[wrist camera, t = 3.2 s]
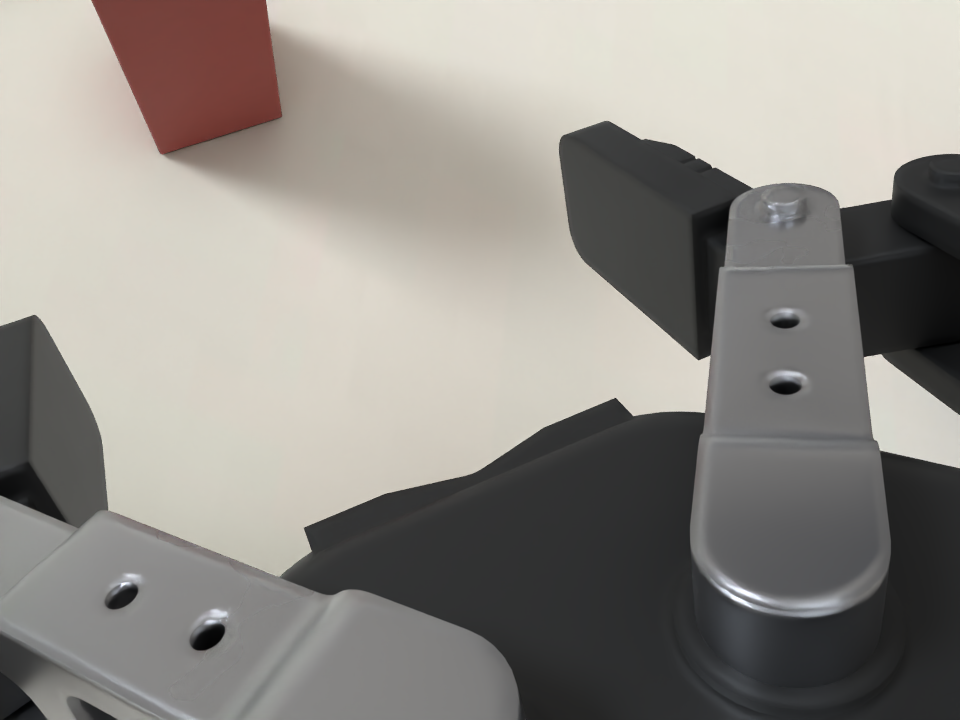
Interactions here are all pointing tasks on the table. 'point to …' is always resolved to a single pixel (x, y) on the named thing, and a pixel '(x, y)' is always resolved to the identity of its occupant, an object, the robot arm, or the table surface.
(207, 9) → the tall red block
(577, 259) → the table surface
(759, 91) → the table surface
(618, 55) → the table surface
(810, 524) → the robot arm
